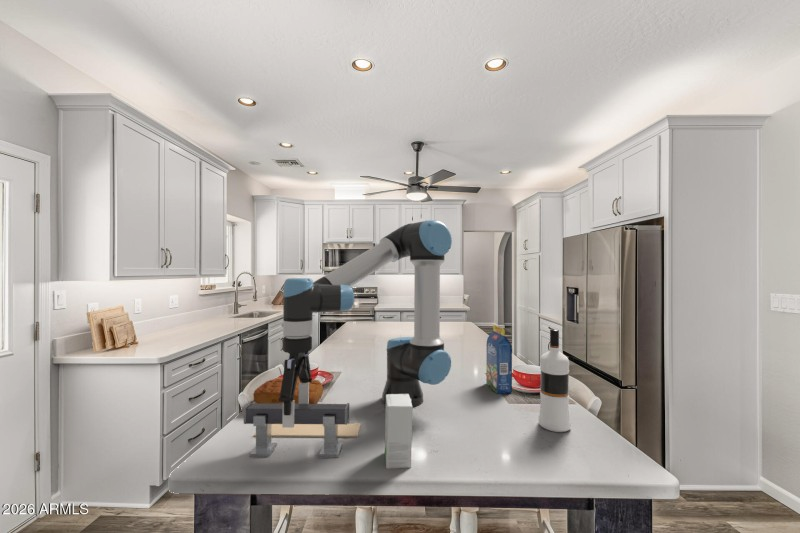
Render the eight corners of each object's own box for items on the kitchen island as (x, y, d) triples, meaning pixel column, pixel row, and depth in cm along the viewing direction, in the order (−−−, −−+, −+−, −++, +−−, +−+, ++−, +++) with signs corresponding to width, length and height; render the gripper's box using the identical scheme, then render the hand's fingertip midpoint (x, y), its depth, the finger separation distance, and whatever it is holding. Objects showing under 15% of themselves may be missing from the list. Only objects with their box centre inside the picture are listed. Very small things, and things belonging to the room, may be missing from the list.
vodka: (531, 423, 114) (532, 328, 114) (552, 418, 118) (552, 326, 118) (556, 435, 105) (556, 333, 105) (577, 429, 109) (577, 330, 109)
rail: (349, 418, 98) (349, 403, 98) (347, 424, 94) (347, 408, 94) (249, 418, 98) (249, 402, 98) (243, 423, 94) (243, 407, 94)
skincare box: (384, 452, 96) (384, 393, 96) (409, 451, 96) (409, 392, 96) (386, 469, 87) (386, 405, 87) (413, 468, 88) (413, 404, 88)
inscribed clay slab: (248, 414, 120) (248, 390, 120) (269, 396, 137) (270, 375, 137) (313, 416, 119) (313, 391, 119) (327, 397, 136) (327, 376, 136)
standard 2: (342, 445, 99) (342, 407, 99) (338, 457, 93) (338, 416, 93) (324, 445, 99) (324, 407, 99) (318, 457, 93) (319, 416, 93)
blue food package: (500, 383, 153) (500, 324, 153) (512, 393, 141) (512, 329, 141) (486, 383, 152) (486, 324, 152) (496, 393, 140) (496, 329, 140)
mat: (360, 425, 112) (360, 423, 112) (357, 437, 104) (357, 435, 104) (264, 424, 112) (264, 423, 112) (253, 436, 104) (253, 435, 104)
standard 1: (277, 445, 99) (277, 407, 99) (268, 457, 93) (268, 416, 93) (259, 445, 99) (259, 407, 99) (249, 456, 93) (249, 416, 93)
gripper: (297, 328, 109) (296, 398, 108) (265, 345, 84) (264, 437, 84) (322, 328, 109) (321, 399, 108) (297, 346, 84) (296, 437, 83)
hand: (296, 415), depth 96 cm, fingers open, 13 cm apart
